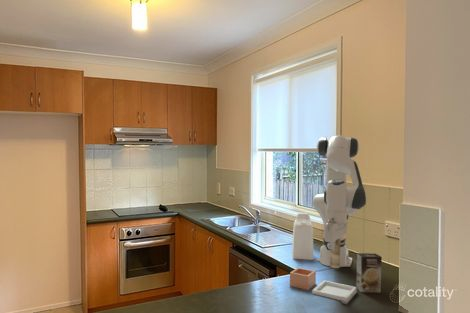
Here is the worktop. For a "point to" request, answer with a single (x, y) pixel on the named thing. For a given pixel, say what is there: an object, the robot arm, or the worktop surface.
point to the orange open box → (303, 278)
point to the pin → (335, 255)
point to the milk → (302, 237)
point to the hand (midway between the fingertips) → (335, 248)
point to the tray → (335, 291)
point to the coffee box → (368, 272)
